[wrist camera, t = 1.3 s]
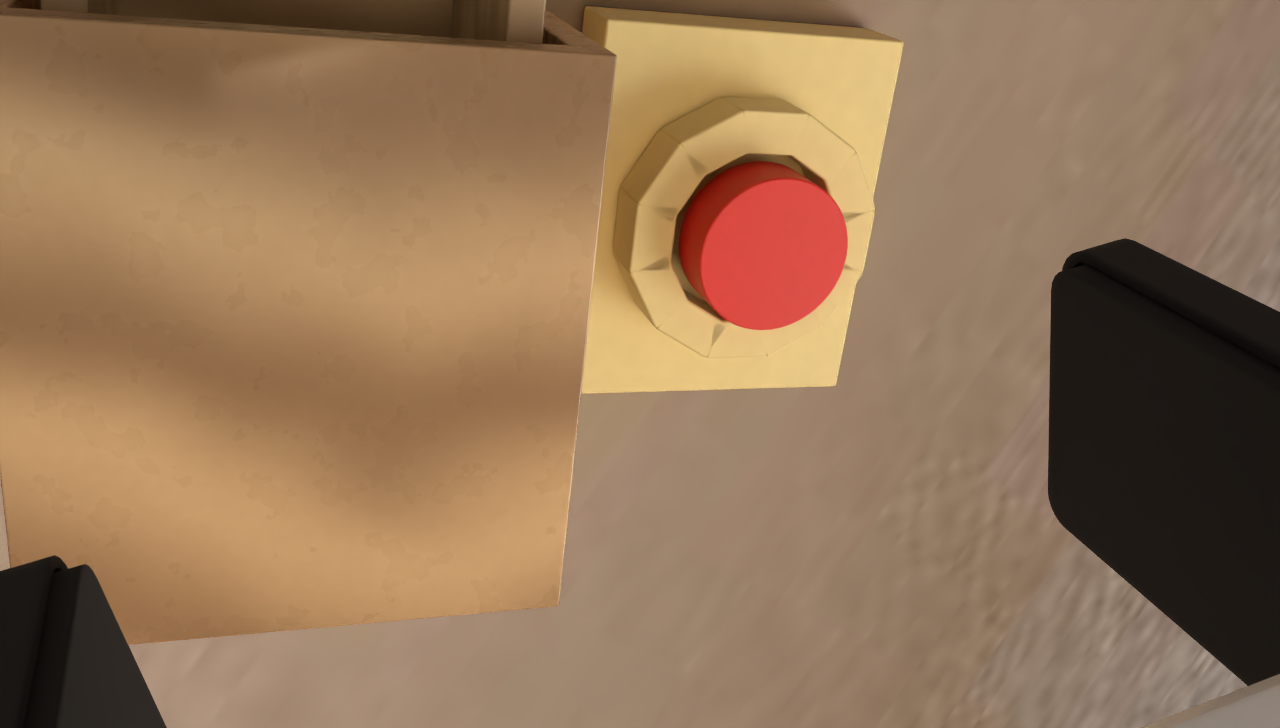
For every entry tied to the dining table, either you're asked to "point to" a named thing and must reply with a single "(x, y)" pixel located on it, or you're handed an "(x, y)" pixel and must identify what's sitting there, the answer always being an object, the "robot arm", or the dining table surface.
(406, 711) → the dining table surface
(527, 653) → the dining table surface
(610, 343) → the button box
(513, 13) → the drawer
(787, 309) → the red button
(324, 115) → the cabinet
